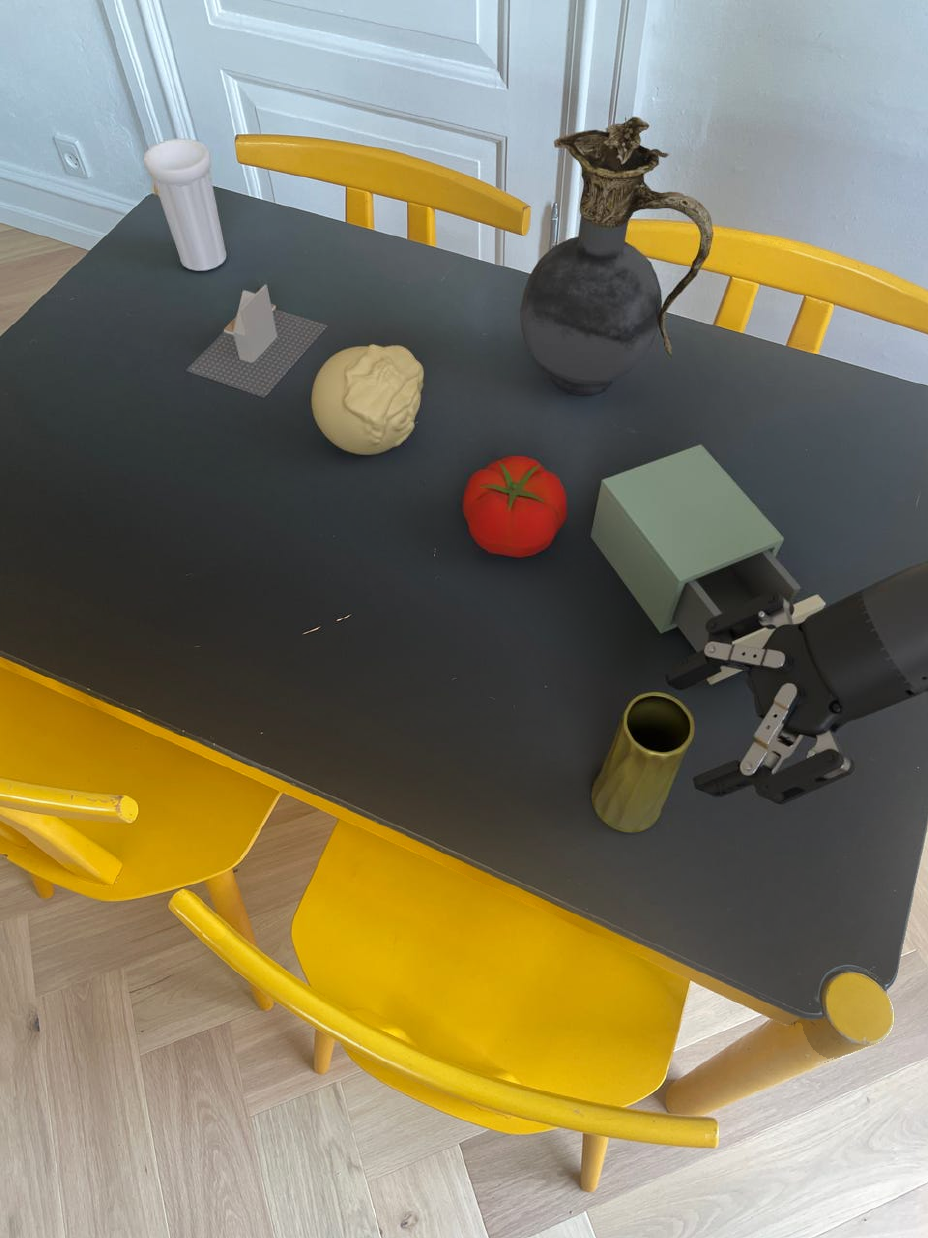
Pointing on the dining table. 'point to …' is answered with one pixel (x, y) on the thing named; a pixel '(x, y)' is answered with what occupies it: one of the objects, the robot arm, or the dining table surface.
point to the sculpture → (368, 398)
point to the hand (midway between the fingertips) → (685, 733)
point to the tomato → (514, 507)
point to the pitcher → (604, 268)
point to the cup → (188, 200)
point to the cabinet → (676, 527)
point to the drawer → (737, 600)
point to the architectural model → (257, 346)
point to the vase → (642, 762)
